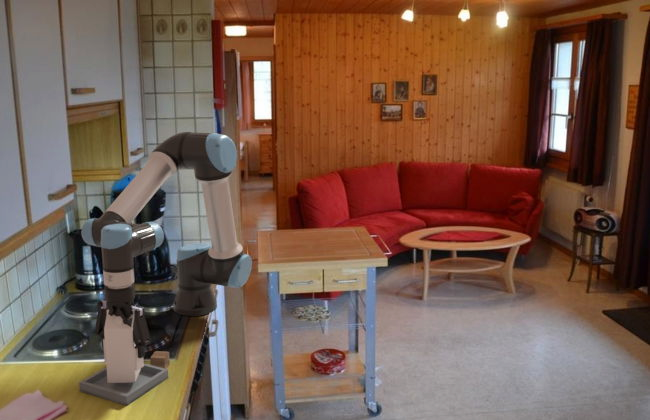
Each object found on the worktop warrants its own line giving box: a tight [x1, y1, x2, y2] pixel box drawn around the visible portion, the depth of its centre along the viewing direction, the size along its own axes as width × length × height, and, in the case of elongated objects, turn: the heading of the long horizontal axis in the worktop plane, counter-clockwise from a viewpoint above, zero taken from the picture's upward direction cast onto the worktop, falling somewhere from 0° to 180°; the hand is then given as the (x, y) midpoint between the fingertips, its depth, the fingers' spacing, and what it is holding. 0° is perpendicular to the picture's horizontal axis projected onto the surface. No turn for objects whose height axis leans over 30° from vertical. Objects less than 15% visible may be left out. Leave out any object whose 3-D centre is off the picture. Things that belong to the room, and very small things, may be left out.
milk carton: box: [104, 309, 141, 383], centre depth 160 cm, size 7×7×19 cm
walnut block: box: [150, 350, 170, 369], centre depth 172 cm, size 4×4×4 cm
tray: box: [78, 363, 169, 406], centre depth 162 cm, size 16×16×2 cm
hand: (124, 364), depth 161 cm, fingers closed on milk carton, 10 cm apart
